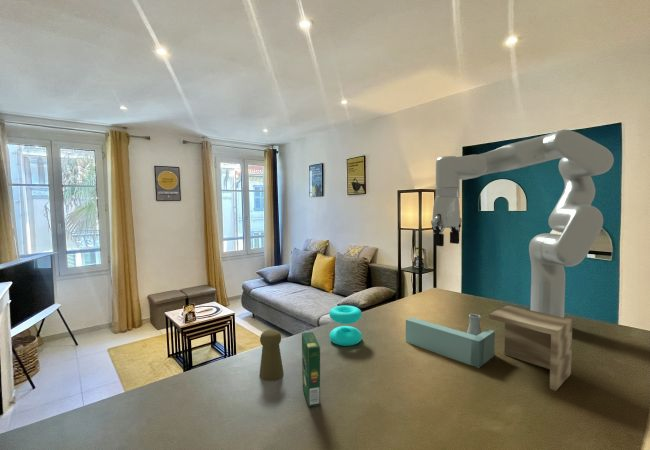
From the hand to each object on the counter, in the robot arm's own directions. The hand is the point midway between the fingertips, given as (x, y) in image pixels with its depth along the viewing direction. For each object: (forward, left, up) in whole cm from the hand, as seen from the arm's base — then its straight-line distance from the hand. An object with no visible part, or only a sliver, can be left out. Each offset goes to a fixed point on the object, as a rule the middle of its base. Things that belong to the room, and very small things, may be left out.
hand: (446, 244), depth 110 cm
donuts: (+34, -14, -29) cm, 47 cm away
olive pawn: (+62, -11, -28) cm, 69 cm away
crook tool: (+15, +10, -28) cm, 34 cm away
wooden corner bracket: (+11, +29, -28) cm, 42 cm away
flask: (+10, +15, -29) cm, 34 cm away
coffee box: (+60, +3, -28) cm, 66 cm away
